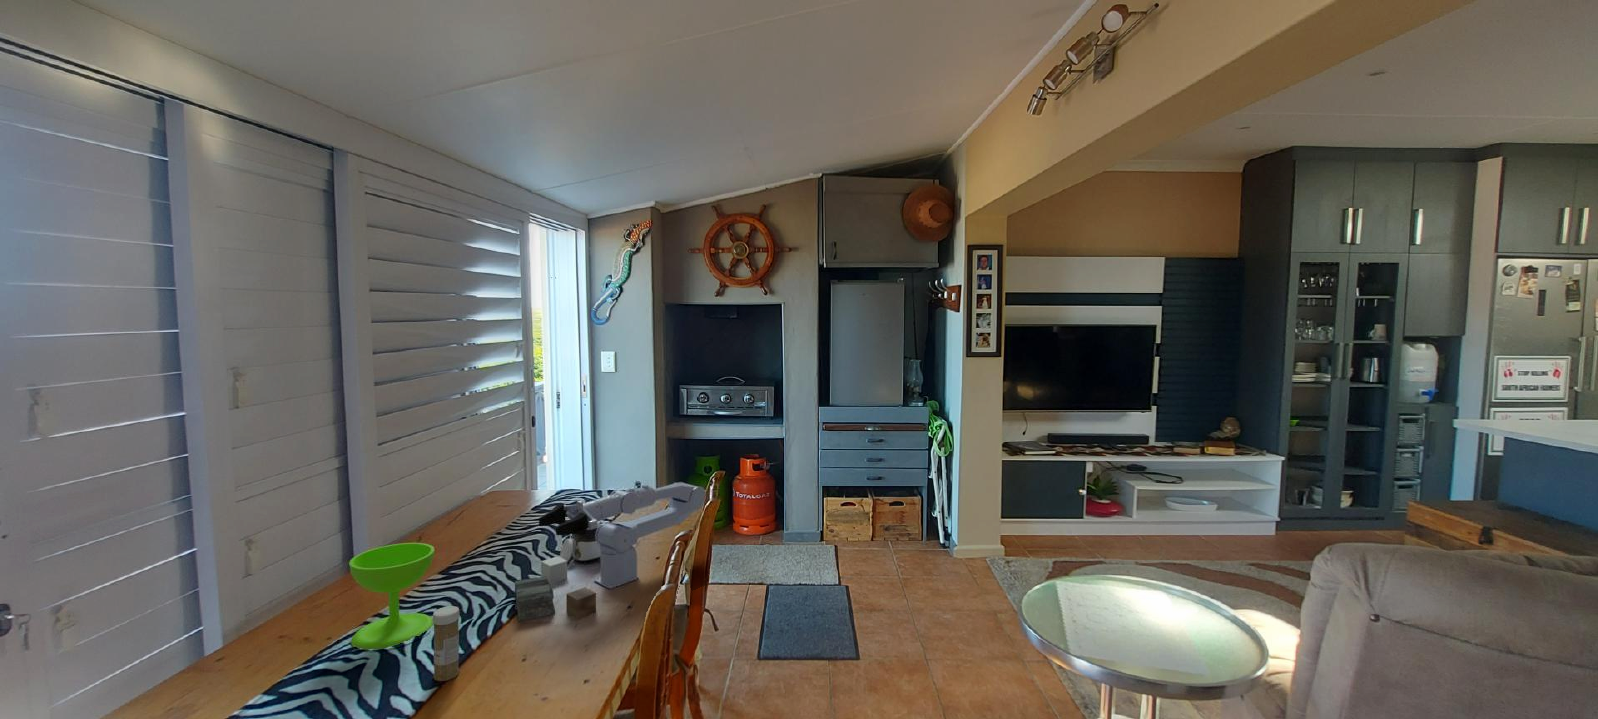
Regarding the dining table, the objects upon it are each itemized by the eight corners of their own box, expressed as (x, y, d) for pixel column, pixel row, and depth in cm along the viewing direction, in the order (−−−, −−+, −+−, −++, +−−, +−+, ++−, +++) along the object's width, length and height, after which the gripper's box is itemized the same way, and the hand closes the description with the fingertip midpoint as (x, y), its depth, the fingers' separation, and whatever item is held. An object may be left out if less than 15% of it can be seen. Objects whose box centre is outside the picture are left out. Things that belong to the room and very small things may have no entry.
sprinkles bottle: (430, 676, 119) (429, 610, 119) (454, 666, 123) (454, 602, 122) (438, 685, 116) (437, 618, 116) (463, 675, 120) (462, 610, 119)
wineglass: (451, 622, 141) (450, 548, 140) (385, 657, 126) (383, 574, 125) (402, 611, 146) (401, 539, 145) (332, 643, 131) (331, 563, 130)
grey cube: (557, 573, 170) (557, 556, 170) (567, 578, 167) (567, 560, 167) (541, 578, 166) (541, 561, 166) (550, 583, 163) (550, 566, 163)
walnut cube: (584, 606, 151) (584, 587, 150) (595, 612, 147) (596, 593, 147) (566, 613, 147) (566, 593, 146) (577, 620, 143) (577, 599, 143)
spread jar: (609, 558, 181) (610, 521, 181) (578, 571, 172) (578, 531, 171) (584, 550, 188) (584, 514, 187) (552, 561, 178) (552, 523, 178)
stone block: (551, 592, 159) (551, 572, 159) (558, 615, 146) (558, 594, 146) (514, 598, 155) (514, 578, 154) (517, 622, 142) (518, 601, 142)
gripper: (579, 489, 163) (532, 503, 152) (612, 504, 155) (564, 519, 144) (579, 513, 164) (532, 529, 153) (611, 529, 156) (564, 547, 145)
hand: (548, 526), depth 149 cm, fingers open, 7 cm apart
